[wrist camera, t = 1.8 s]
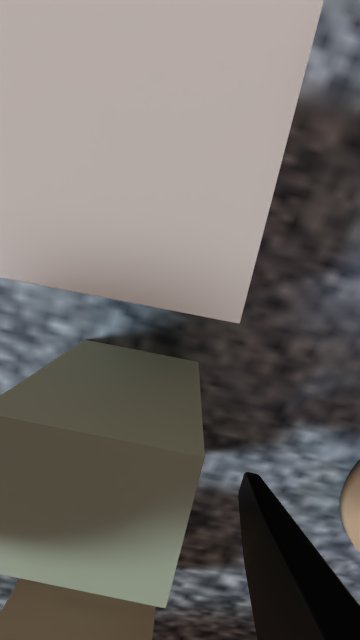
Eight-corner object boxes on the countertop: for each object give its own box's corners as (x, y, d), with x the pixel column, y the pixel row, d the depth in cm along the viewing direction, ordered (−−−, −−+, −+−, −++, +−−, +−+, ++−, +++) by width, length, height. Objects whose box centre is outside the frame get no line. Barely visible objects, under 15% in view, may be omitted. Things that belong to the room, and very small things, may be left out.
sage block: (177, 454, 11) (165, 608, 6) (77, 434, 11) (-17, 570, 6) (198, 361, 10) (204, 456, 5) (85, 338, 10) (-23, 411, 5)
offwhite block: (213, 293, 9) (239, 323, 4) (91, 269, 9) (-28, 272, 4) (244, 152, 8) (335, -45, 3) (104, 126, 8) (-42, -114, 3)
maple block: (152, 567, 13) (127, 755, 8) (66, 550, 13) (-11, 726, 8) (167, 501, 11) (148, 673, 7) (73, 482, 12) (-15, 638, 7)
